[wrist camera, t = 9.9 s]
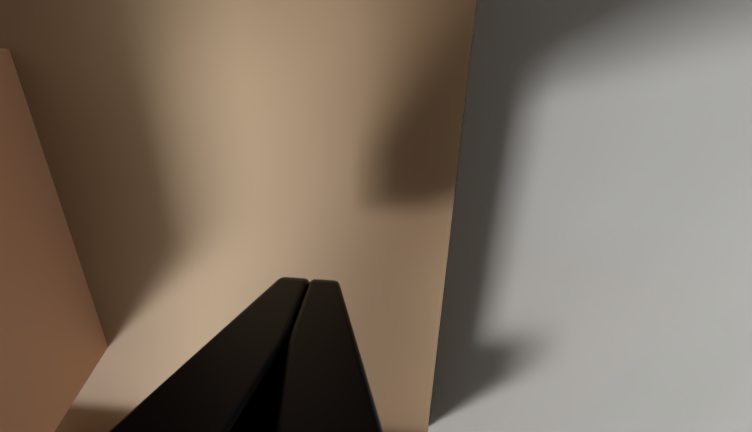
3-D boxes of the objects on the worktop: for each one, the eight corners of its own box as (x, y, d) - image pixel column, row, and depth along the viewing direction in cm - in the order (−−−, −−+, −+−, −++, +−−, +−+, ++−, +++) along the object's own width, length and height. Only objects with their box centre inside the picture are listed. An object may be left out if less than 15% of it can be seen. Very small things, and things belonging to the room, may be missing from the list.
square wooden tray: (499, -297, 7) (535, -371, 4) (421, 431, 15) (419, 553, 12) (-553, -311, 8) (-1023, -381, 5) (-100, 386, 15) (-202, 492, 13)
